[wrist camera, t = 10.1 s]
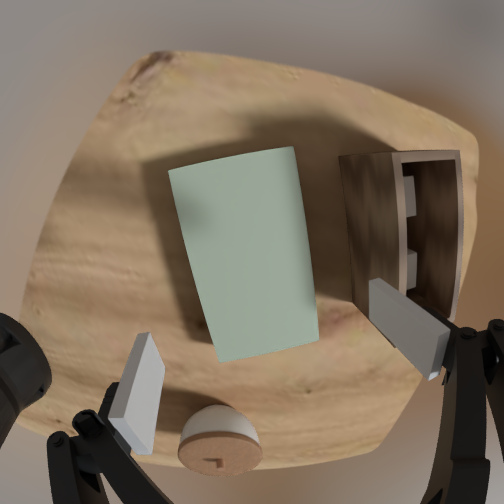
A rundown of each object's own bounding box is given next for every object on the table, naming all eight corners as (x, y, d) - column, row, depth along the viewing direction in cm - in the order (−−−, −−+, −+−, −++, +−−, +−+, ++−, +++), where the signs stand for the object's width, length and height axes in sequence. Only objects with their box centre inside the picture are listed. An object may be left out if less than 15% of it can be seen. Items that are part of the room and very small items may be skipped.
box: (405, 286, 32) (453, 321, 23) (352, 302, 32) (394, 347, 23) (398, 150, 28) (459, 149, 18) (338, 156, 27) (391, 152, 18)
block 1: (366, 214, 28) (385, 221, 25) (361, 177, 27) (381, 179, 23) (395, 209, 29) (416, 215, 25) (392, 174, 27) (413, 175, 24)
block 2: (369, 282, 31) (387, 296, 27) (368, 250, 30) (387, 261, 26) (397, 274, 31) (415, 286, 27) (397, 243, 30) (417, 252, 26)
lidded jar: (166, 414, 34) (159, 465, 25) (218, 381, 33) (220, 437, 24) (218, 444, 37) (220, 491, 28) (270, 416, 36) (281, 466, 27)
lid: (310, 324, 32) (319, 340, 29) (219, 344, 32) (219, 362, 29) (284, 148, 27) (293, 145, 23) (174, 170, 26) (168, 170, 23)
